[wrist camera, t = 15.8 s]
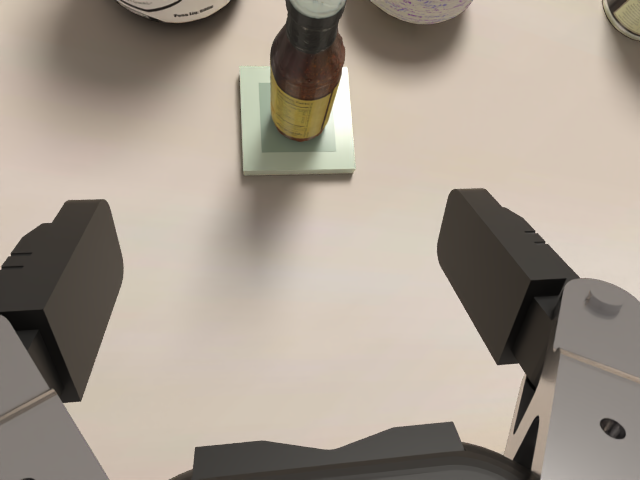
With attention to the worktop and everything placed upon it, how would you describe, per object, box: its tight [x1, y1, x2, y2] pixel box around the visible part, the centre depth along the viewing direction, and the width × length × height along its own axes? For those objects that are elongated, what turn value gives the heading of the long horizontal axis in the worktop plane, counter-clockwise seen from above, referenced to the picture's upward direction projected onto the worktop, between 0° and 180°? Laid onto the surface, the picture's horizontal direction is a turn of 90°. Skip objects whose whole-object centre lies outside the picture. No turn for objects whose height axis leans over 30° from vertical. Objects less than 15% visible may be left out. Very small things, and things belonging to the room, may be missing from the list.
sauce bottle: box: [270, 0, 346, 142], centre depth 39 cm, size 6×6×20 cm
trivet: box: [239, 66, 356, 176], centre depth 50 cm, size 12×12×2 cm
